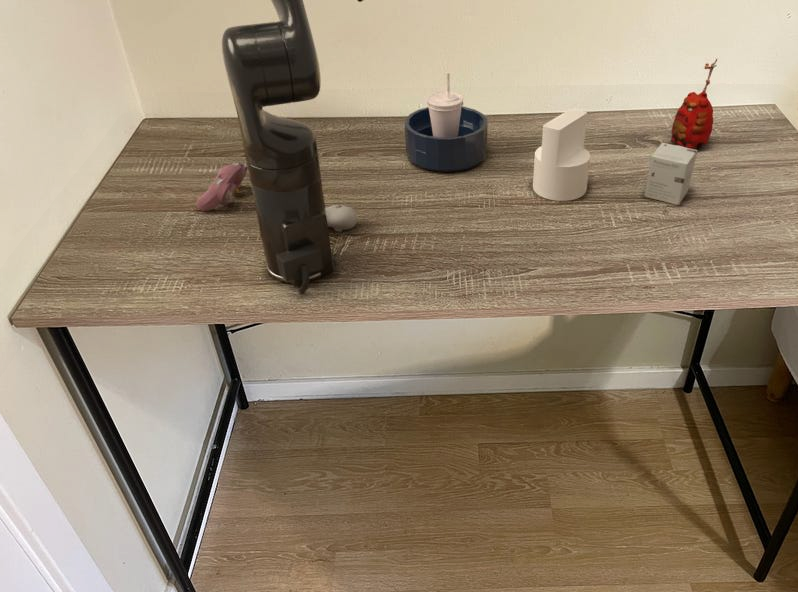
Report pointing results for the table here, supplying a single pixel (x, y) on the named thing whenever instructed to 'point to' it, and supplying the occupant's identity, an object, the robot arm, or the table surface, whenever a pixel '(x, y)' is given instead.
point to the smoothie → (445, 112)
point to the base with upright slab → (562, 158)
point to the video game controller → (222, 187)
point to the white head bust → (341, 217)
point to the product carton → (670, 173)
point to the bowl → (446, 142)
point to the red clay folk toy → (694, 119)
